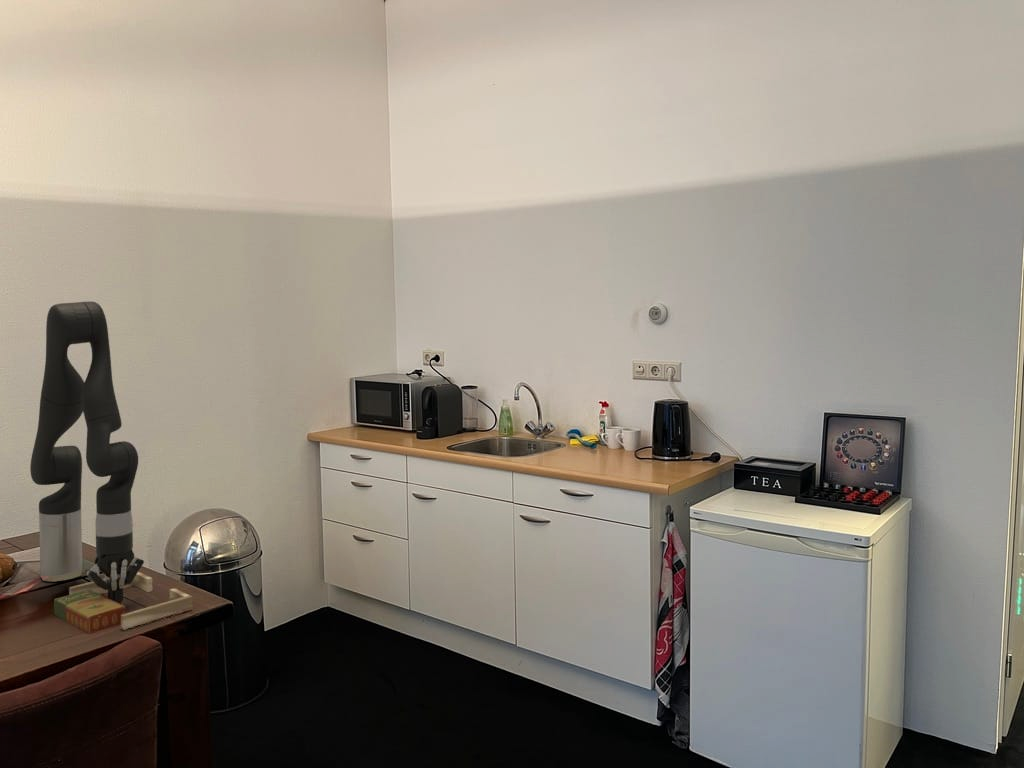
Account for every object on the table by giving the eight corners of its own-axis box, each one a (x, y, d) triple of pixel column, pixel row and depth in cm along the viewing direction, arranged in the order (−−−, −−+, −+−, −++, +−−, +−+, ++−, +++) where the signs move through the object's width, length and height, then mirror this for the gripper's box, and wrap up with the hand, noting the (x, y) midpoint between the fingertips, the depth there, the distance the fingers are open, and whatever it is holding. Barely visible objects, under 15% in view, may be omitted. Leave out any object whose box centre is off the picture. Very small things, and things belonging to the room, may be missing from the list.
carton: (88, 635, 172) (87, 616, 172) (52, 616, 182) (52, 597, 181) (126, 623, 179) (126, 605, 179) (90, 605, 189) (90, 587, 188)
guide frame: (69, 600, 190) (69, 587, 189) (136, 583, 202) (136, 570, 202) (123, 630, 174) (123, 616, 174) (192, 609, 187) (192, 596, 187)
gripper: (134, 521, 191) (135, 592, 193) (76, 533, 181) (78, 608, 182) (151, 527, 187) (152, 600, 189) (92, 540, 176) (94, 617, 178)
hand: (115, 604), depth 185 cm, fingers closed
